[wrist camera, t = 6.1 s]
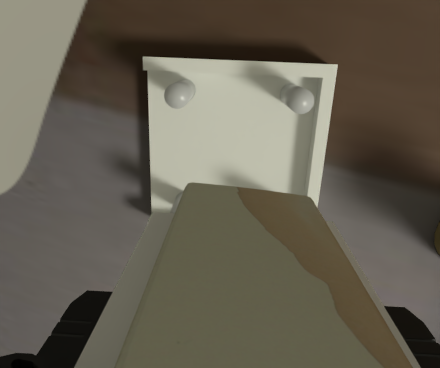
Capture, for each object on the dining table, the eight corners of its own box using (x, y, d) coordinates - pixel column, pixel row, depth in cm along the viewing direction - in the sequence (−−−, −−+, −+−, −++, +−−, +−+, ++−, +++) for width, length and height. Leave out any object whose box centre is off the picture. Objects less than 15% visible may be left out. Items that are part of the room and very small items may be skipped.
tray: (154, 218, 28) (138, 250, 23) (150, 56, 24) (130, 56, 19) (306, 225, 28) (322, 259, 23) (328, 64, 24) (352, 65, 19)
